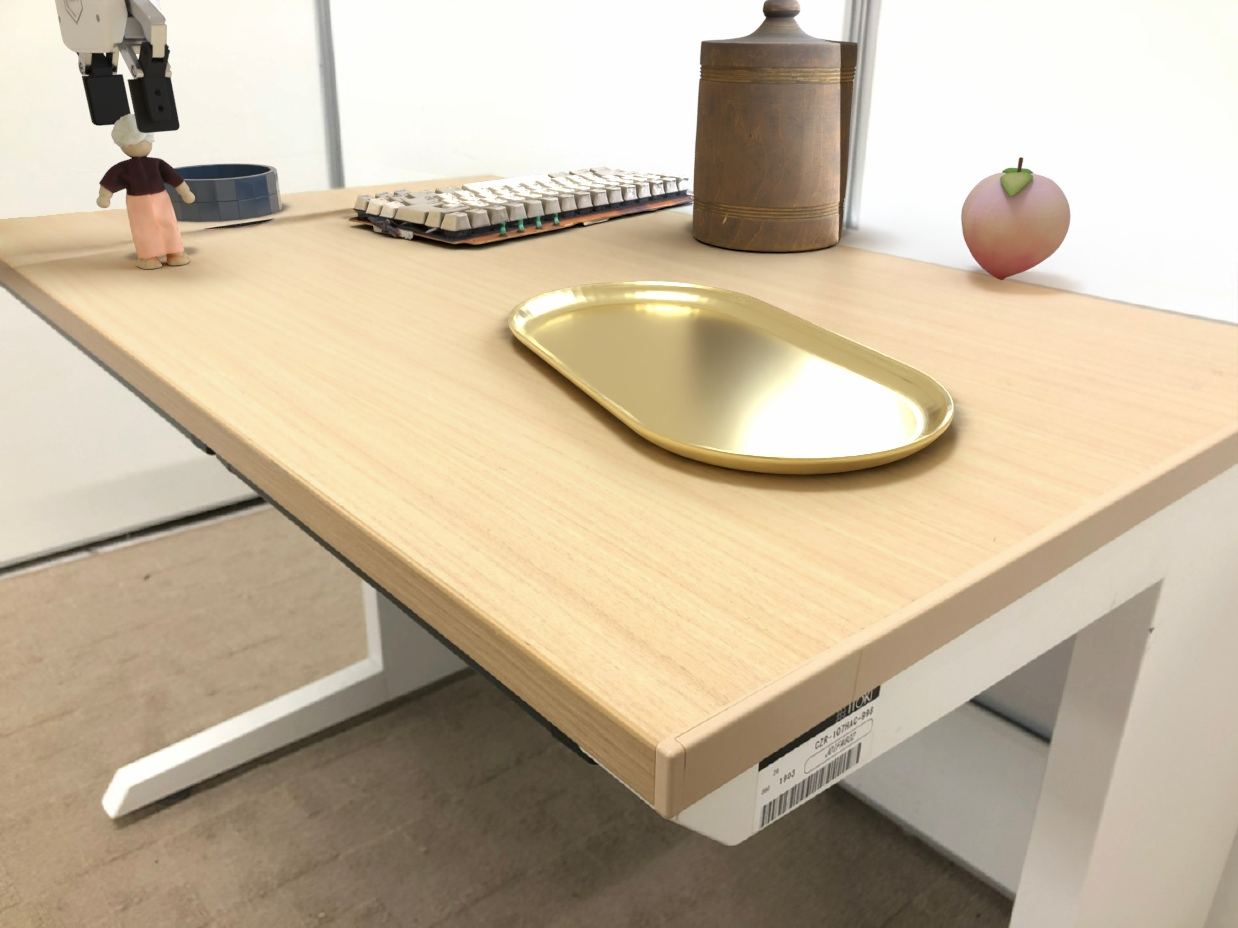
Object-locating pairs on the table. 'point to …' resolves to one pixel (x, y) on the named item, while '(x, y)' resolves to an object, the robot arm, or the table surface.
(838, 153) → the wooden container
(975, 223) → the decorative fruit
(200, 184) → the bowl
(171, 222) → the grandmother figurine
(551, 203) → the mechanical keyboard
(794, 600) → the table surface
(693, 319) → the serving platter
